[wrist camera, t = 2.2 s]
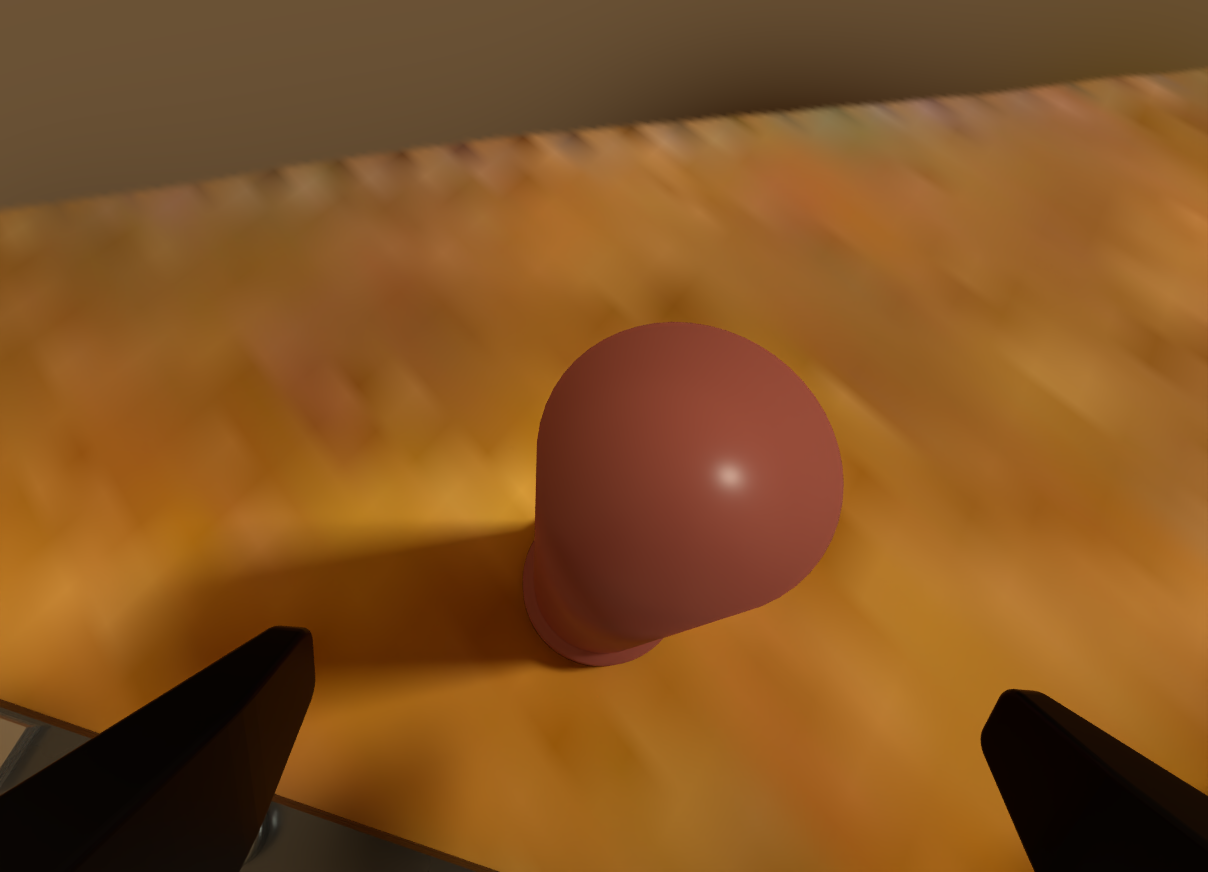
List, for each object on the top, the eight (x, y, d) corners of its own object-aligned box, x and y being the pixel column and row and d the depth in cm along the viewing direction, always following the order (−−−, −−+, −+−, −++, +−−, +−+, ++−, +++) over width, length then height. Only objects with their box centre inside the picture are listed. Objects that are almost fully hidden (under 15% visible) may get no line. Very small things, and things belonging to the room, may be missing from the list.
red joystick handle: (652, 688, 17) (841, 700, 6) (499, 636, 17) (451, 568, 7) (690, 537, 18) (883, 363, 8) (553, 491, 18) (579, 264, 8)
